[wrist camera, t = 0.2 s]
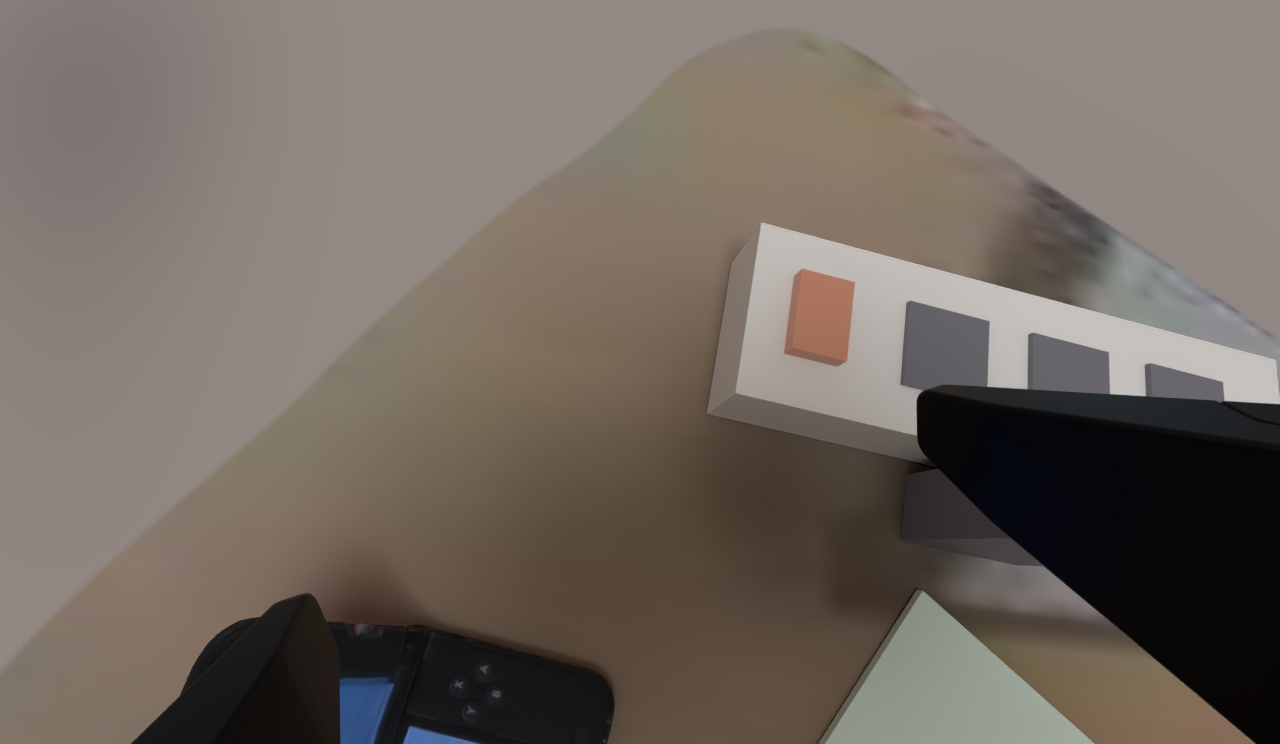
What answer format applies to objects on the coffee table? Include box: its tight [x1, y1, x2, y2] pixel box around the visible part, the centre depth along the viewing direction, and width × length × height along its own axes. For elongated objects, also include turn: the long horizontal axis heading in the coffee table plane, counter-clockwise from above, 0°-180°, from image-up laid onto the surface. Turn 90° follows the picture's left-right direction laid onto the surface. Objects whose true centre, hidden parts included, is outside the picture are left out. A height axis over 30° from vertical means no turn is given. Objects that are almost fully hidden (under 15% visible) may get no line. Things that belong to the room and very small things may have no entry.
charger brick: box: [901, 469, 1043, 566], centre depth 21 cm, size 3×5×10 cm, turn 79°
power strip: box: [707, 222, 1280, 467], centre depth 25 cm, size 22×7×4 cm, turn 79°
